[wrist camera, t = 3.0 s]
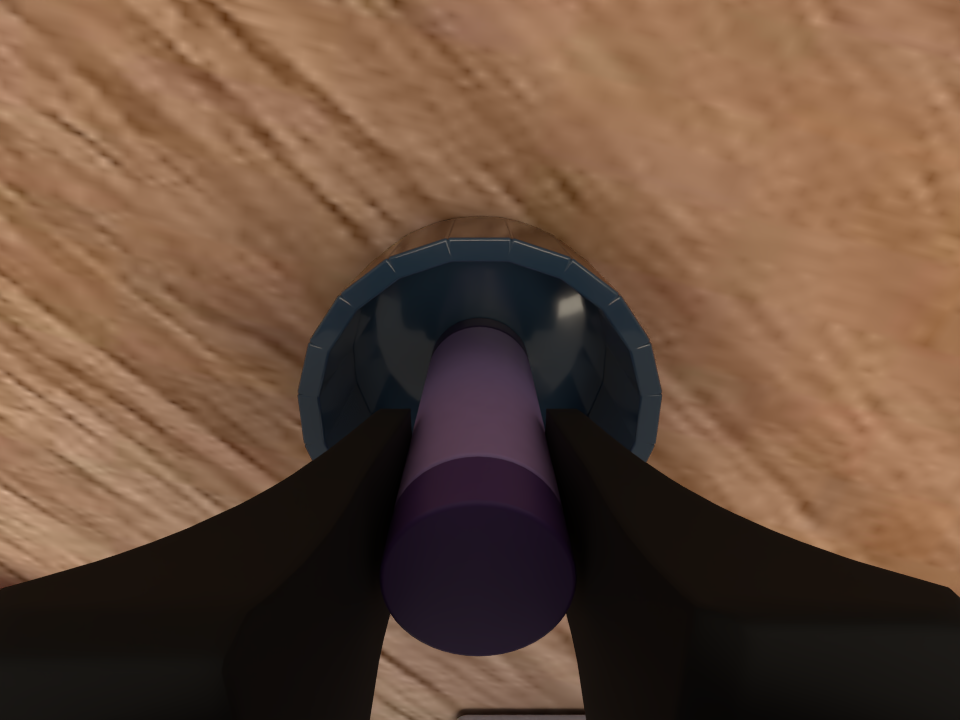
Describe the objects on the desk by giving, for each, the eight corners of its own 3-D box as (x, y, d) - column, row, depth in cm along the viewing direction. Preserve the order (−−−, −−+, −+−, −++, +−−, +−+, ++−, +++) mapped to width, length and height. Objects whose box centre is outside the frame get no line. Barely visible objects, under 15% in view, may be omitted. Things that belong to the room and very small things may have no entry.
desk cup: (605, 475, 17) (640, 563, 14) (353, 475, 17) (319, 563, 14) (631, 215, 14) (684, 237, 11) (328, 215, 14) (275, 237, 11)
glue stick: (526, 407, 16) (571, 658, 8) (432, 407, 16) (384, 657, 8) (529, 317, 15) (584, 502, 7) (429, 317, 15) (370, 502, 7)
